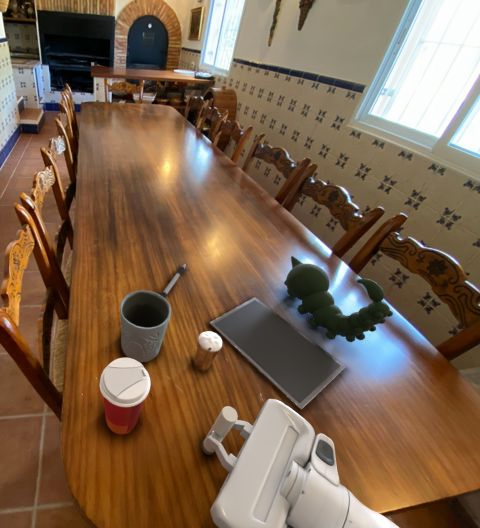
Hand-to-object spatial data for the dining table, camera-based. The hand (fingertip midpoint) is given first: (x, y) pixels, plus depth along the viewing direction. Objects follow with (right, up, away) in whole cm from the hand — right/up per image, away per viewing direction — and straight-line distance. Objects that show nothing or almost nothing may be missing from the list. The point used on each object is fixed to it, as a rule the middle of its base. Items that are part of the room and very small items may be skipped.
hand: (214, 426), depth 46 cm
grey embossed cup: (-11, +7, +19) cm, 23 cm away
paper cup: (-15, -3, +7) cm, 17 cm away
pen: (-1, +20, +36) cm, 41 cm away
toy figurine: (+33, +12, +30) cm, 46 cm away
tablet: (+20, +7, +21) cm, 30 cm away
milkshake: (+2, +4, +16) cm, 17 cm away
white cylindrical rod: (0, -6, +4) cm, 7 cm away
